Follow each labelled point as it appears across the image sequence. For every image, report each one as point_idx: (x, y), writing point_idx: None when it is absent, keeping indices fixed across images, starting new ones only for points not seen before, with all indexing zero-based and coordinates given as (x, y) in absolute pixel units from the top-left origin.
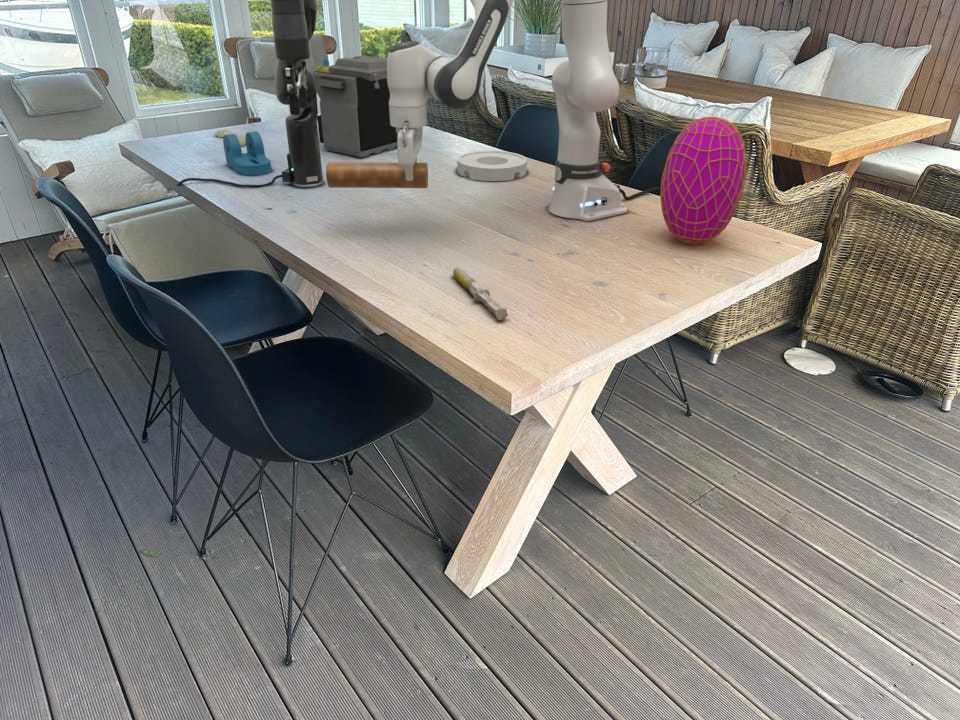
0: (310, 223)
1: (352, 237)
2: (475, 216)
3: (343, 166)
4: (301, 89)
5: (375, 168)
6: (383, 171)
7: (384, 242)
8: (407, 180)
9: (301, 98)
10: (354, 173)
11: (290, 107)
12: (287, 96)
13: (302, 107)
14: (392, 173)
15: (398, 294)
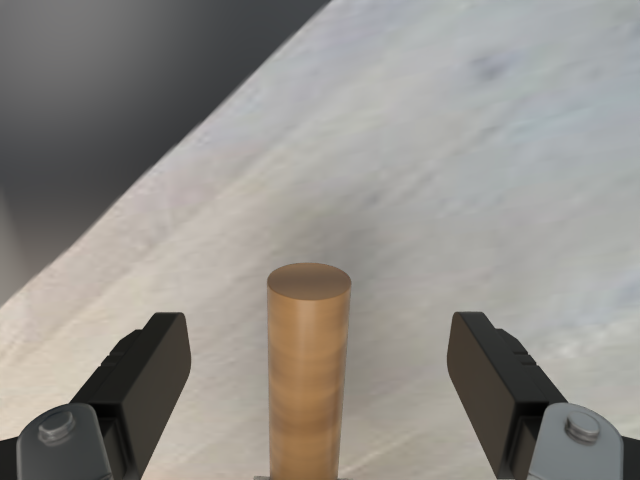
0: (386, 143)
1: (287, 257)
2: (411, 459)
3: (282, 348)
4: (522, 468)
5: (278, 430)
6: (273, 443)
7: (261, 321)
8: (255, 476)
9: (477, 386)
10: (269, 367)
11: (135, 346)
12: (39, 419)
13: (452, 336)
14: (270, 458)
15: (24, 363)
